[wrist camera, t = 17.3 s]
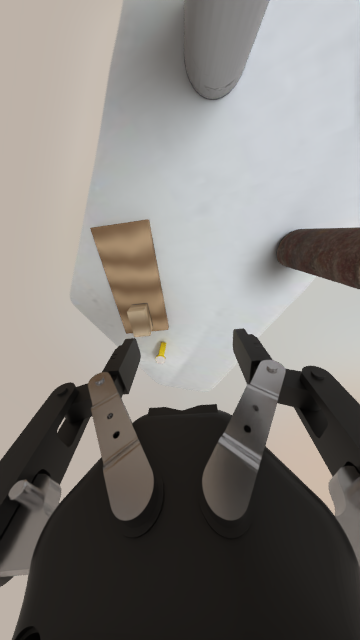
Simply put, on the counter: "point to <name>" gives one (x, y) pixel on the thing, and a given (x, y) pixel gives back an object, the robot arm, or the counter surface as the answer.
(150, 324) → the block
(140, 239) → the board
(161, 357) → the yellow wavy ring
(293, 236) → the rusty brown cylinder
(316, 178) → the counter surface
